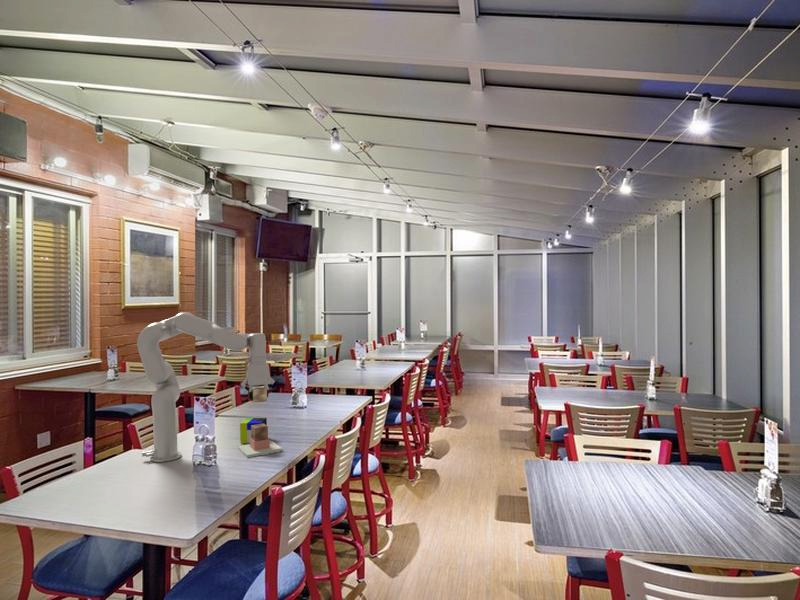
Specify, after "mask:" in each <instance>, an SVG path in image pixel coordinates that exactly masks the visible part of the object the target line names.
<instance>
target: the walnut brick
mask: <svg viewBox="0 0 800 600" xmlns="http://www.w3.org/2000/svg"><path fill="white" fill-rule="evenodd" d="M268 438H269V426H268V425H265V424H257V425H251V439H253V440H254V441H260V440H266V439H268Z"/></svg>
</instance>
